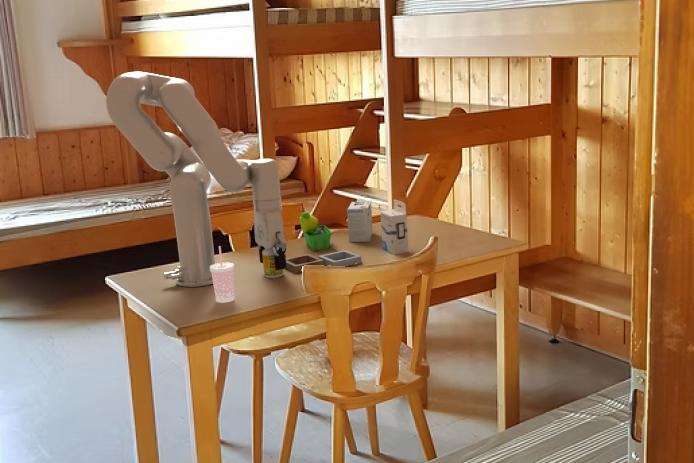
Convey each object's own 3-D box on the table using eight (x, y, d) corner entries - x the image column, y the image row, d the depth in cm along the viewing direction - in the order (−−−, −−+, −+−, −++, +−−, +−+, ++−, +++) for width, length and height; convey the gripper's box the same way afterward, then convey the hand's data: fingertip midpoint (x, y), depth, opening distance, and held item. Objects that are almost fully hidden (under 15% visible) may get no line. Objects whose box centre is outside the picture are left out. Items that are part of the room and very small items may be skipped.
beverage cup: (236, 302, 207) (231, 248, 203) (212, 304, 206) (206, 250, 203) (237, 295, 212) (232, 242, 209) (214, 297, 212) (208, 244, 209)
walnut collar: (295, 273, 228) (295, 266, 228) (281, 266, 236) (280, 259, 235) (324, 266, 233) (323, 260, 232) (309, 260, 240) (308, 253, 240)
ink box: (381, 248, 248) (378, 201, 244) (396, 246, 250) (393, 198, 246) (394, 255, 240) (391, 205, 237) (409, 252, 242) (406, 203, 238)
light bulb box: (353, 233, 269) (350, 201, 266) (373, 233, 268) (371, 200, 265) (348, 242, 258) (346, 208, 256) (369, 241, 257) (367, 207, 255)
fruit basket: (333, 248, 252) (331, 212, 249) (305, 252, 250) (302, 216, 247) (325, 240, 263) (323, 205, 260) (298, 243, 261) (295, 209, 258)
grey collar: (334, 269, 230) (333, 262, 229) (318, 262, 237) (318, 256, 237) (361, 262, 234) (361, 256, 234) (345, 256, 242) (345, 250, 241)
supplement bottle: (277, 271, 231) (274, 238, 229) (287, 275, 227) (284, 241, 225) (260, 275, 228) (257, 242, 226) (270, 279, 224) (266, 245, 222)
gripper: (242, 202, 229) (247, 261, 233) (268, 211, 214) (274, 275, 218) (266, 198, 232) (271, 256, 236) (294, 207, 218) (299, 269, 222)
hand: (273, 265), depth 227 cm, fingers open, 9 cm apart
